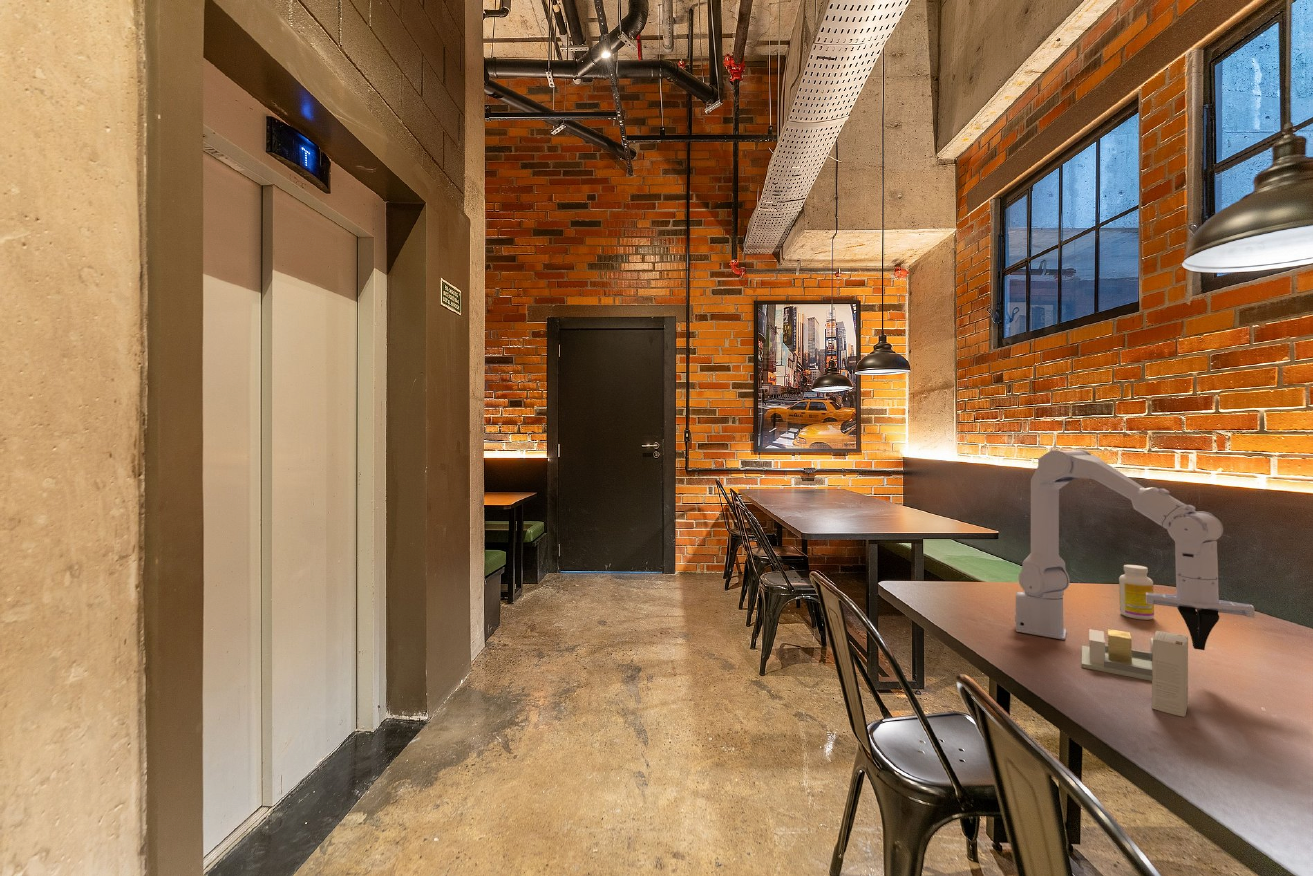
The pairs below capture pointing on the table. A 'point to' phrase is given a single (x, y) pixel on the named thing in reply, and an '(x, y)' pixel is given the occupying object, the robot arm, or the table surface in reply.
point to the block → (1119, 646)
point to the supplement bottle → (1135, 593)
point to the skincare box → (1170, 673)
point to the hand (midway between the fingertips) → (1198, 648)
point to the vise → (1099, 660)
